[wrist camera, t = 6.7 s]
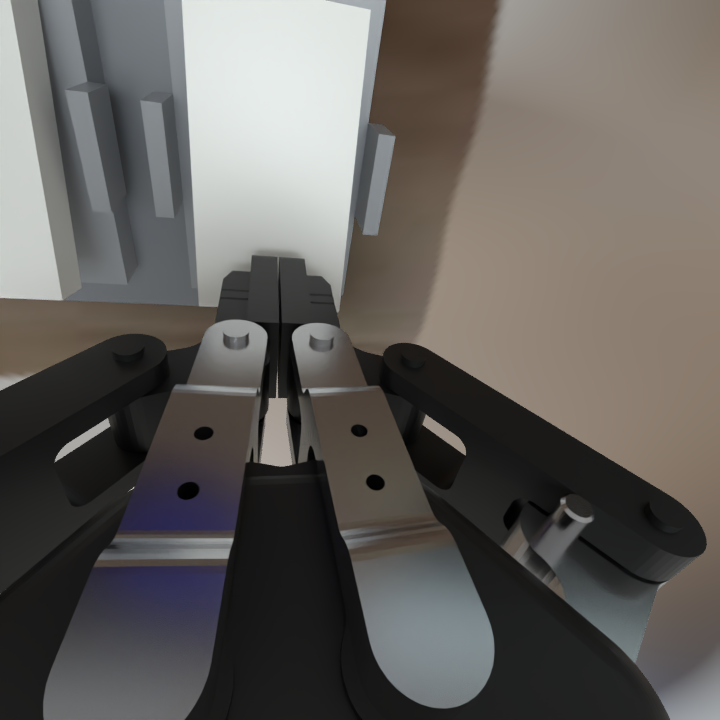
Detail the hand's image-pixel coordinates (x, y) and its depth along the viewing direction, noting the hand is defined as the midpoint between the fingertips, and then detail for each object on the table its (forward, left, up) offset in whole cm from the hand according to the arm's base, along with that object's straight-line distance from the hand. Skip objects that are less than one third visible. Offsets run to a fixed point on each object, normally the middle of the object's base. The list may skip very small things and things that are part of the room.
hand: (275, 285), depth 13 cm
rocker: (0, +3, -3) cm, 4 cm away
